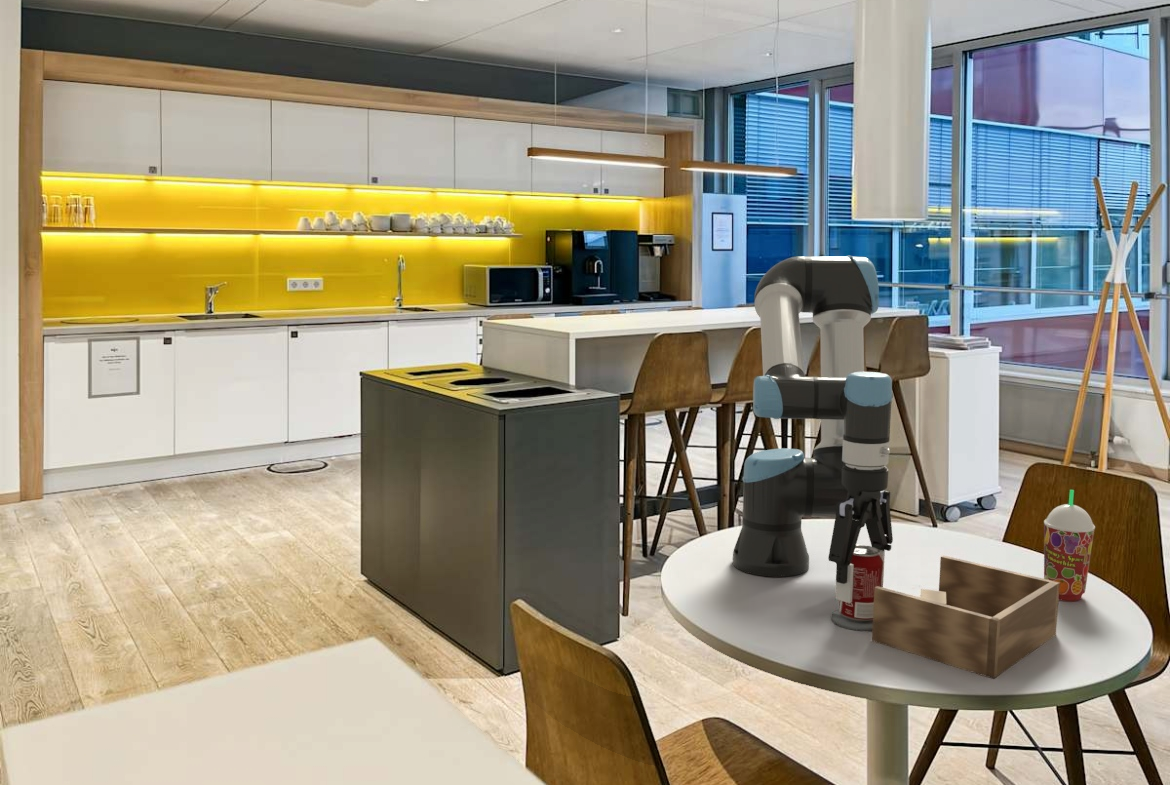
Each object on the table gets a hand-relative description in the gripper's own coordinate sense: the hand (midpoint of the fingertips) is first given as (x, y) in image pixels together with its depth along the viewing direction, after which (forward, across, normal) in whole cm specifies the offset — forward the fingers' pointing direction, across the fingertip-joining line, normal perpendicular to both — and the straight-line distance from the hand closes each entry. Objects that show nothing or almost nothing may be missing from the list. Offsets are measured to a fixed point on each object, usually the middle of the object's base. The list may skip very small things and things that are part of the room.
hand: (859, 593), depth 168 cm
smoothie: (+5, +38, -20) cm, 43 cm away
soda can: (+4, 0, 0) cm, 4 cm away
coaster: (+5, 0, 0) cm, 5 cm away
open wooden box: (+5, +6, -16) cm, 18 cm away
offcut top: (+2, +6, -10) cm, 12 cm away
